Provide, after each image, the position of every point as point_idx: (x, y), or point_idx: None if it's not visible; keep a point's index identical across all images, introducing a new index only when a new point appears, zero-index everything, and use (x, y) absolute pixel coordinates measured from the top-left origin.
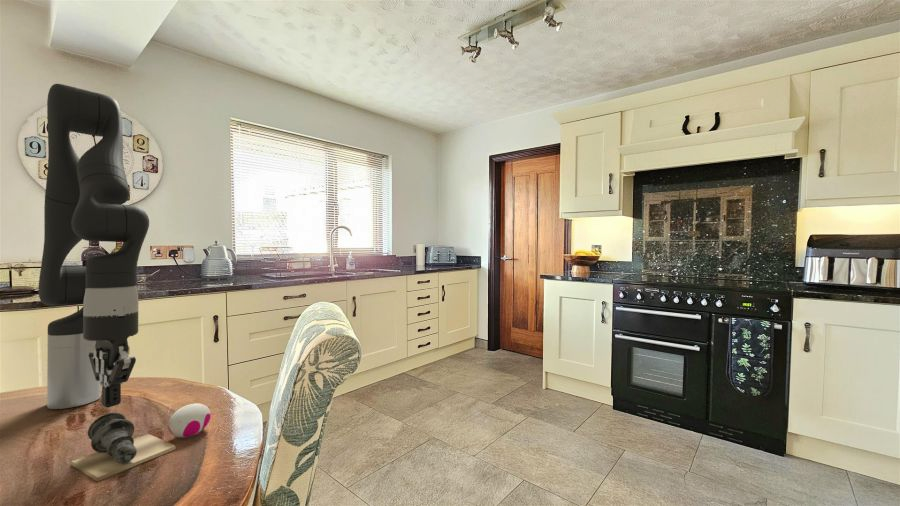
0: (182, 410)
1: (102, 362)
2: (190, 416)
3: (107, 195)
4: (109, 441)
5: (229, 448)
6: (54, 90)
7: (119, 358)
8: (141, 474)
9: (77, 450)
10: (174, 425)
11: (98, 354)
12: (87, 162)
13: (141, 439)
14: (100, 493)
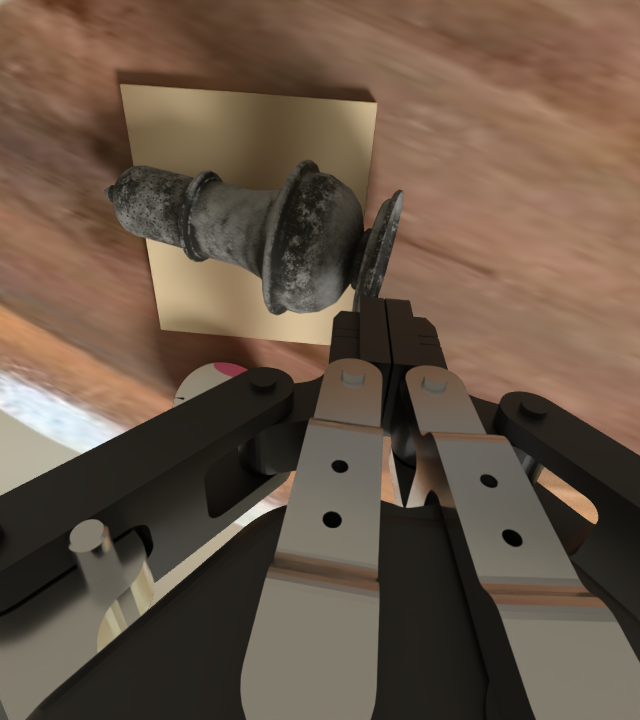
0: None
1: (335, 533)
2: None
3: None
4: (223, 197)
5: (38, 379)
6: None
7: (70, 623)
8: (61, 185)
9: (504, 180)
10: (195, 381)
11: (497, 662)
12: None
13: (323, 315)
14: (15, 43)
